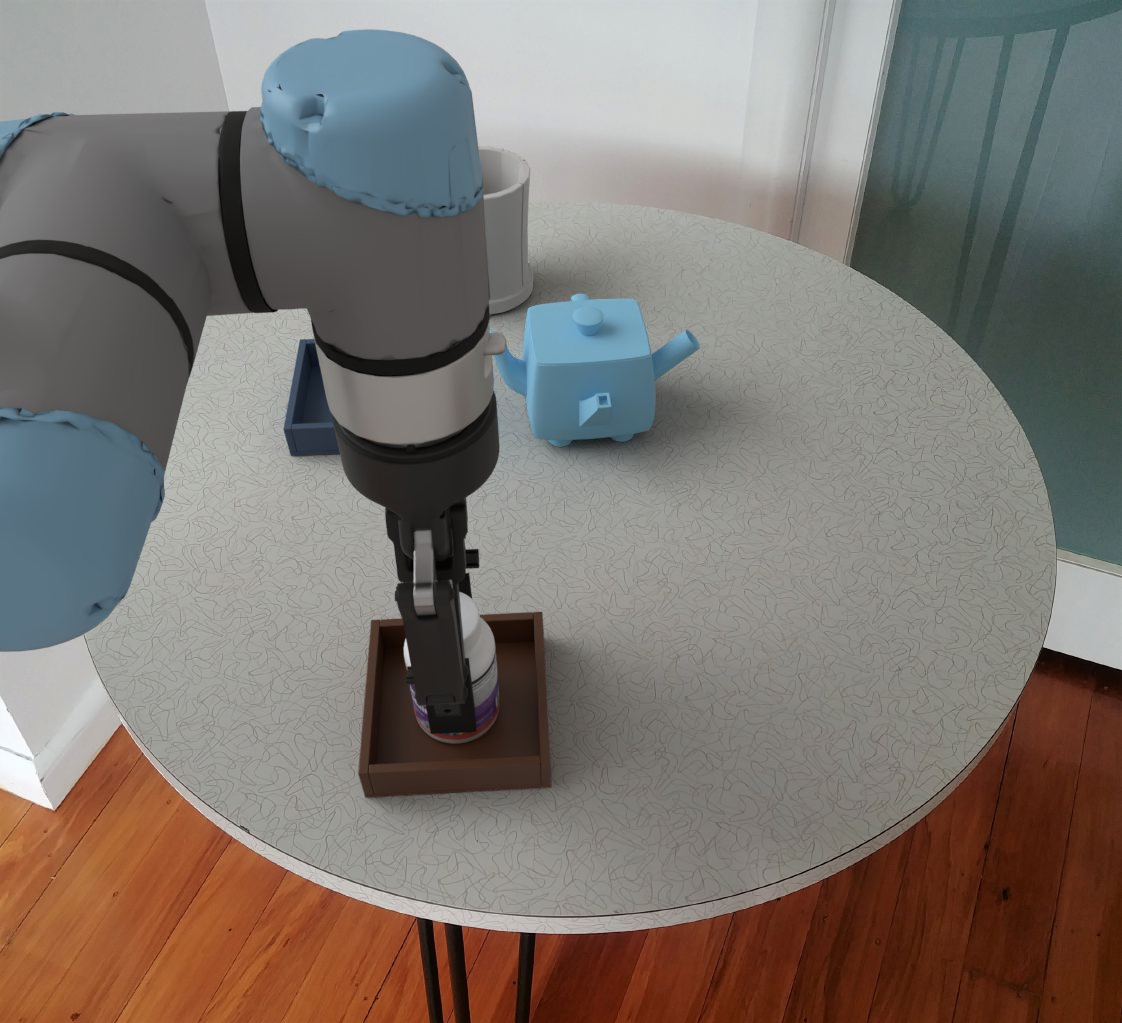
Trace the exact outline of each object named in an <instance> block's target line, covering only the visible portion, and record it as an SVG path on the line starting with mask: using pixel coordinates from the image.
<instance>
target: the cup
mask: <svg viewBox="0 0 1122 1023" xmlns="http://www.w3.org/2000/svg"><path fill="white" fill-rule="evenodd" d="M478 149H479V157H480V161H481V163H482V178H483V194H484V214H485V234H486V254H487V274H488V294H489V312H490V316H492V315H497V314H501V313H502V314H503V313H505V312H509V311H510V310H513V309H515V308H517V307H518V306H520V305H521V304H522V303H524V302H526V300H528V299H529V297H530V296H531V294H532V293H533V291H534V270H533V268H532V266H531V265H530V262H529V236H528V235H529V232H528V231H529V229H528V227H529V198H530V182H531V181H530V180H531V167H530V165H529V164H528V162H527V161H526V159H525V158H523V157H522V156H521V155H519V154H518V153H516V152H514V151H511V150H509V149H506V148H501V147H495V146H490V145H489V146H487V145H485V146H484V145H483V146H481V145H478Z"/></svg>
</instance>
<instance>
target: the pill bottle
mask: <svg viewBox="0 0 1122 1023" xmlns="http://www.w3.org/2000/svg"><path fill="white" fill-rule="evenodd" d="M459 596H460V607H461V619H462V630H463V642H464V653H465V658H469V664H470V672H471V680H472V688H473V697H474V705H475V713H476V732H463V733H443V734H431V732H430V727H429V721H428V716H427V710H426V705H424V706H418V704H417V699H415V685H414V684H413V685H410V690H411V695H412V700H413V706H414V711H415V715H416V718H417V721H418V723H419V725H420V727H421V728H422V729H423V730H424V731H425V732H426V733H427V734H428V735H429V736H430V737H432V738H434V739H436V740H438V741H441V742H445V743H451V744H459V743H466V742H469V741H472V740H475V739H477V738H479V737H480V736H482V735H483V734H484V733H486V732H487V731H488V730H489V729H490V728H491V726H492V725H493V724H494V722H495V720H496V718H497V716H498V712H499V706H500V703H499V702H500V698H499V685H498V672H497V661H496V648H495V641H494V636H493V633H492V631H491V629H490V627H489V626H488V624H487V623H486V622H485V621H484V620H483V619H482V618H481V617H480V615H481V613H480V610H479V607H478V605H477V603H476V602H475V600H474V599H473V598H472V599H471V598H470V597H469V596H468V595H466V594H464V593H462V592H459ZM404 658H405V664H406V668H407V666H411V663H410V657H409V652H408V646H407V641H406V639H405V643H404Z"/></svg>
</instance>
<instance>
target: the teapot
mask: <svg viewBox="0 0 1122 1023" xmlns="http://www.w3.org/2000/svg"><path fill="white" fill-rule="evenodd" d="M523 332H524V333H523V339H522V340H523V342H522V359H521V358H518V357H515V356H514V355H513V354H512V353H511V351H510V350H509V348H508V345H507V344H506V350H505V351H504V353H503V354H499V355H492V357H493V360H494V361H495V364H496V368H497V370H498V373H499V375H500V378H501V379H502V381H503V382H504V383H505V385H506V386H507V387H508V388H509V389H511V391H513V392H515V393H516V394H518V395H522V396H523V397H524V398H525V404H526V410H527V415H528V420H529V425H530V427H531V431H532V434H533V437H534V438H535V439H537V440H541V441H548V443H550V445H552V446H555V447H561V448H562V447H566V446H569V445H570V444H571V443H572V442H573V441H574V440H577V441H578V440H591V439H592V440H594V439H605V438H610V439H612V440H613V441H616V442H621V443H622V442H623V443H624V442H627V441H630V440H632V439H633V437H634V436H635V434H640V433H644V432H647V431H650V430H651V428H652V426H653V424H654V420H655V416H656V400H657V399H656V398H657V397H656V396H657V395H656V381H657V380H658V379H659V378H661V377H662V376H663V375H665V374H667V373H668V372H670V371H671V370H672V369H674V368H675V367H677V366H678V365H679V364H680V363H682V362H683V361H686V359H688V358H689V357H690V356H692V355H694V354H695V353H696V352H697V351H699V350H700V349H701V345H700V343H699V341H698V339H697V337H696V336H695V335H694V334H693V332H691V331H690V330H689V329H687V328H686V329H684V330H683V331H682V332H680V333H679V334H678V335H676V336H675V337H673V338H672V339H670V341H668V342H667V343H665V344H664V345H662V346H661V347H660V348H658V349H657V350H655V351H654V352H652V349H651V344H650V339H649V335H648V331H647V328H646V324H645V321H644V317H643V312H642V310H641V307H640V304H639V302H638V300H637V299H634V298H596V299H590V296H589V295H588V294H586V293H576V294H573V295H571V296H570V300H568V301H558V302H547V303H542V304H536V305H532V306H530V307H528V308H527V313H526V318H525V325H524V331H523ZM490 333H497V332H496V331H493V330H492V329H490Z"/></svg>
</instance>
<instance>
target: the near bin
mask: <svg viewBox="0 0 1122 1023" xmlns="http://www.w3.org/2000/svg"><path fill="white" fill-rule="evenodd" d="M480 617H481V618H482V619H483V620H484V621H485V622H486V623H487V624H488V626H489V627H490V629H491V631H492V633H493V636H494V641H495V648H496V661H497V672H498V685H499V698H500V702H499V703H500V706H499V712H498V716H497V718H496V720H495V722H494V724H493V725H492V726H491V728H490V729H489V730H488V731H487V732H486V733H484V734H483V735H482V736H480V737H479V738H477V739H475V740H472V741H469V742H466V743H459V744H451V743H445V742H441V741H438V740H436V739H434V738H432V737H430V736H429V735H428V734H427V733H426V732H425V731H424V730H423V729H422V728H421V727H420V725H419V723H418V721H417V718H416V715H415V711H414V706H413V700H412V695H411V690H410V685H407V684H406V675H407V668H406V664H405V658H404V643H405V639H406V635H405V630H404V624H403V620H402V617H401V618H383V619H382V618H381V619H371V620H370V629H369V641H368V651H367V664H366V676H365V686H364V698H363V699H364V700H363V702H364V703H363V712H362V723H361V724H362V725H361V735H360V736H361V737H360V746H359V747H360V748H359V758H358V759H359V760H358V769H357V770H358V772H357V775H358V778H359V782H360V784H361V787H362V791H363V795H364V798H365V799H367V798H387V797H388V798H389V797H403V796H421V795H443V794H460V793H463V794H464V793H479V792H498V791H516V790H534V789H551V788H552V770H551V769H552V764H551V763H552V762H551V745H550V742H551V741H550V724H549V709H548V707H549V706H548V705H549V704H548V688H547V671H546V670H547V669H546V652H545V651H546V649H545V636H544V635H545V634H544V633H545V632H544V631H545V630H544V615H543V611H526V612H509V613H508V612H504V613H485V614H484V613H483V614H480Z"/></svg>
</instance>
